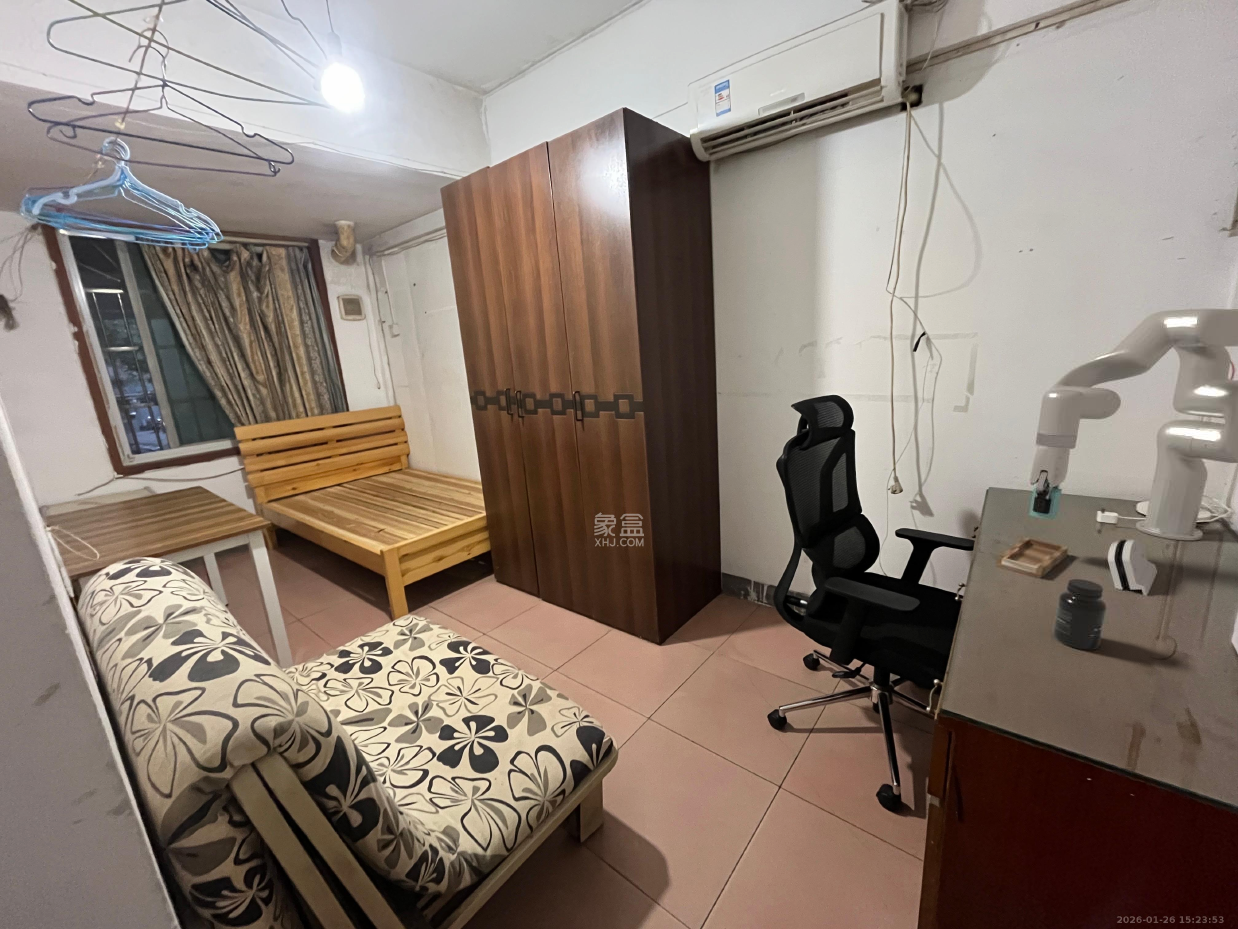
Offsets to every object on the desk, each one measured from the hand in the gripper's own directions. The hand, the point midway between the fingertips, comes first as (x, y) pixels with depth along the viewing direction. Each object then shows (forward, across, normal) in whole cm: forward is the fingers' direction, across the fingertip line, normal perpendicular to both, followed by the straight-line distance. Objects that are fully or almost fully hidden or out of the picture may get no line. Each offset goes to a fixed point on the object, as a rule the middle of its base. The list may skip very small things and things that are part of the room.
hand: (1044, 509), depth 128 cm
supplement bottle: (+14, +38, +17) cm, 44 cm away
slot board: (+13, +4, 0) cm, 14 cm away
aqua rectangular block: (+2, 0, 0) cm, 2 cm away
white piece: (+13, -1, +17) cm, 22 cm away
